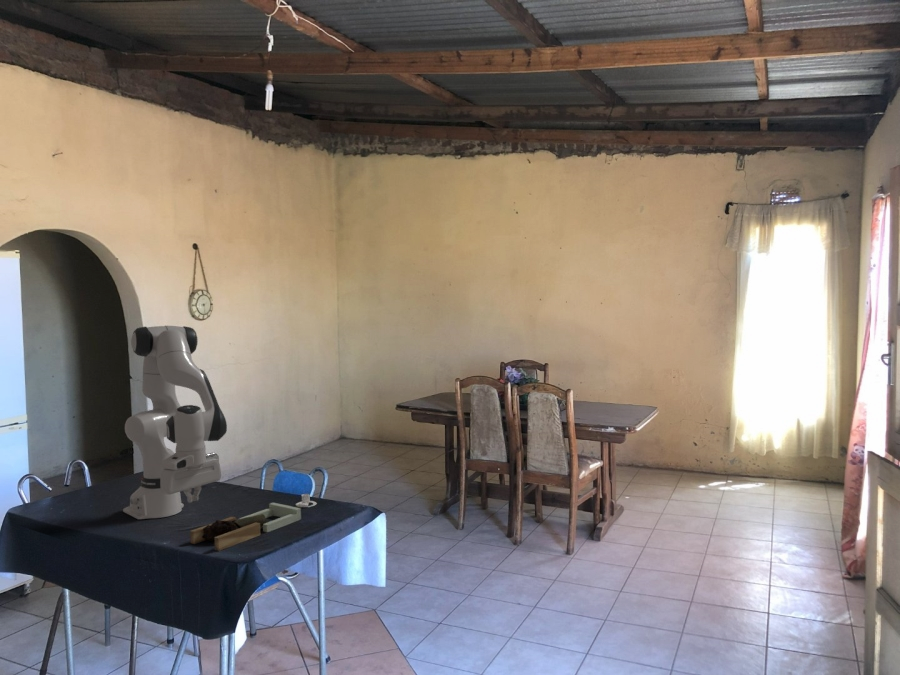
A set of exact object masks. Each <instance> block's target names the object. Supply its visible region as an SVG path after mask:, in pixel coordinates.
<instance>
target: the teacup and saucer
mask: <svg viewBox="0 0 900 675" xmlns="http://www.w3.org/2000/svg"><path fill="white" fill-rule="evenodd" d="M310 498H311V495H310V493H303V494H301V501H299V502H297V503H295V507H297V508H311V507H314V506H316V505H317V504H318V503H317V502H316V501H313V500H311V499H310ZM310 503H312V504H311V505H309V504H310Z"/></svg>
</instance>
